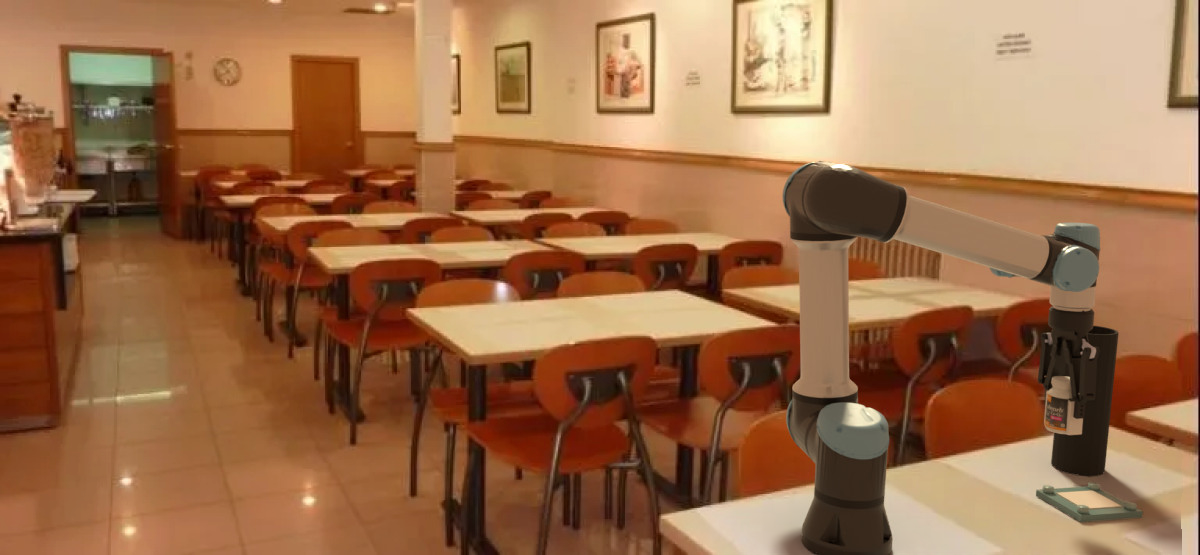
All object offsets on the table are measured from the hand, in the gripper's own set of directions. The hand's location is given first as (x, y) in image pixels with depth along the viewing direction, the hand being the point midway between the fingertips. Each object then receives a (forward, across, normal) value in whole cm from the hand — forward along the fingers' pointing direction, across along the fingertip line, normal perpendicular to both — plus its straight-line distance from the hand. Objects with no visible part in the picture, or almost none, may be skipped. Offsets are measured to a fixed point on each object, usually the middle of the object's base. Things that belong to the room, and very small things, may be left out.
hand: (1062, 428), depth 184 cm
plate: (+16, 0, -6) cm, 17 cm away
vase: (+16, +19, -19) cm, 32 cm away
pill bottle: (+1, 0, 0) cm, 1 cm away
